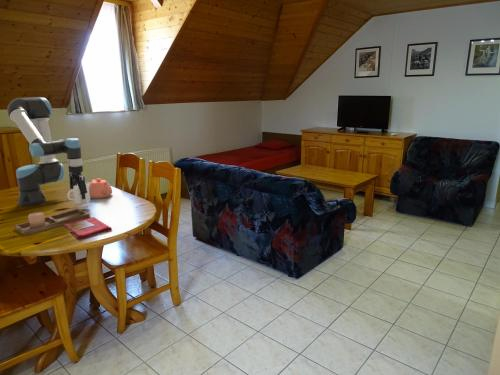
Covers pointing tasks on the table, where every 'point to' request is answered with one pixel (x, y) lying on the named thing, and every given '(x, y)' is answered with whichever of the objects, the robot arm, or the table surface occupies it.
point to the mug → (77, 194)
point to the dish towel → (89, 228)
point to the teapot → (99, 189)
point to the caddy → (54, 221)
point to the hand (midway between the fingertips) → (79, 202)
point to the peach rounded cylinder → (36, 220)
